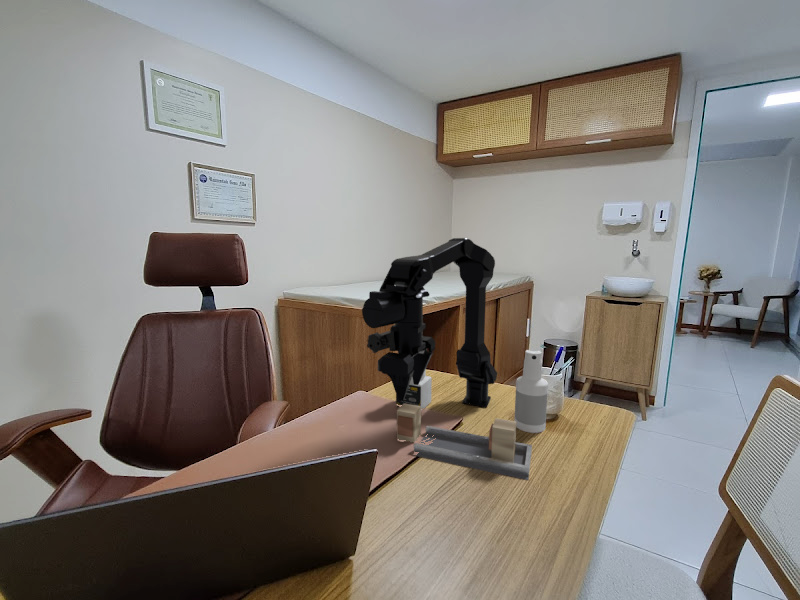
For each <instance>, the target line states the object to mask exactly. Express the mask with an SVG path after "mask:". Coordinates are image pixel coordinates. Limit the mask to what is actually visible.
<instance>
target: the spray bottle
mask: <svg viewBox="0 0 800 600" xmlns="http://www.w3.org/2000/svg"><path fill="white" fill-rule="evenodd" d="M542 353H543V352H542V351H541V350H530V349H526V350H525V356H524V359H523V369H522V375H521V376H519V377H517V378H516V381H515V400H514V401H515V403H514V420H513V421H516V429H518V430H520V431H523V432H526V433H531V434H533V433H534V434H538V433H541V432H544V431H545V430H546V424H547V421H546V420H547V407H548V391H549V382H548V381H547V380H546V379H545V378H543V369H542V368H543V360H542V355H543V354H542Z"/></svg>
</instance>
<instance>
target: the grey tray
mask: <svg viewBox="0 0 800 600" xmlns="http://www.w3.org/2000/svg"><path fill="white" fill-rule="evenodd" d="M425 434H430V435H435V436H440V437H445V438H451V439H456V440H461V441H466V442H471V443H477V444H482V445H487V446H489V436H485V435H479V434H474V433H468V432H464V431H457V430H453V429H446V428H441V427H438V426H437V427H436V426H431V425H426V426H425ZM419 443H420V442H419ZM419 443H418V442H415V443H413V452H414V451H415V452H419V453H422V454H427V455H432V456H436V457H441V458H446V459H450V460H455V461H460V462H464V463H469V464H474V465H478V466H483V467H488V468H493V469H497V470H502V471H507V472H511V473H516V474H521V475H525V476H529V477H530V468H531V459H532V450H533V449H532V447H533V445H532V444H528V443H524V442H523V443H522V442H518V441H515V451H518V452H523V453H526V460H525V465H521V464H517V463H512V462H507V461H502V460H497V459H492V458H487V457H482V456H477V455H472V454H468V453H463V452H458V451H453V450H448V449H443V448H438V447H433V446H428V445H423V444H419Z"/></svg>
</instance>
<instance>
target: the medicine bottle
mask: <svg viewBox="0 0 800 600" xmlns="http://www.w3.org/2000/svg"><path fill="white" fill-rule="evenodd" d="M426 369H427V368H426ZM426 369H425V371H424V373H423V376H422V378H421V380H420V382H419V384H418V385H414V383H413V377H412V378H411V381H410V384H409V387H408V390H407V393H406V396H405V398H404V400H403V401H399V400H398V398H397V395H396V394H395V405H396V404H398V405H403V404H404V403H405V404H411V405H417V406H421V409H423V408H424V409H426V407H428V405H429V404H430V403H431V402H432V379H433V378H432V377H431V376H429V375H427V374H426V373H427V372H426ZM424 409H423V410H424Z"/></svg>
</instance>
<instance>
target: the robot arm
mask: <svg viewBox="0 0 800 600" xmlns="http://www.w3.org/2000/svg"><path fill="white" fill-rule="evenodd" d="M452 263H454V264H455V265H456V266H457V267H458V269H459V276H460V279H461V281H462V283H463V285H464V286H465V309H464V310H465V312H464V313H465V315H464V317H465V319H464V342H463V344H462V346H461V347H460V348H459V349H457V350H456V361H455V365H456V368H457V372H458V376H459V378H461V379H466V383H465V384H466V386H465V387H466V389H465V390H466V391H465V392H466V393H465V396H464V398H463V400H462V404H464V405H469V406H476V407H483V408H488V406H489V405H490V403H491V402H490V401H491V399H492V396H490V395H489V385H493V384H495V382H496V381H497V377H498V371H497V370H496V369H495V367H494V365H493V364H492V363H491V352H490V350H489V349H488V347H487V345H486V343H485V328H486V327H485V326H486V323H485V322H486V302H487V301H486V299H487V298H486V295H487V287H488V285H489V283H490V282H491V281H492V279H493V277H494V269H495V266H496V261H495V257H494V256H493V255H492V254H491V253H490V251H488V250H487V249H486V248H483V246H482V247H481V246H479V245H478V244H476V243H474V241H472V240H471V239H470V238H468V237H455V238H451V239H449V240H448V241H446V242H445V243H443V244H441V245H439V246H437V247H435V248H432V249H431V250H428V251H426V252H424V253H422V254H418V255H413V256H405V257H404V256H403V257H401V258H395V259H394V260H393V261H392V262H391V263H390V265H391V266H390V268H389V269H388V272H387V274H386V276H385V278H384V280H383V281H382V284H381V286H380V287H379V291H377V290H376V291H375V290H373V291H369V295H368V297H369V298H367V299H366V300H365V301H364V304H363V306H362V307H361V315H362V319H363V321H364V323H365V324H366V325H367V326H368V327H369V328H371V329H378V328H382V327H387V326H391V327H390V329H389V331H388V330H387V331H385V332H382V333H379V331H378V332H375V333H371V334H368V336H367V339H366V342H367V344H366V348H368V349H369V350H370V351H372V353H373V354H377V353H378V352H379V351H383V350H387V349H389V352H386V353H385V354H384V355H381V357H380V358H379V359H378V360H377V371H378V372H381V373H382V374H383V375H386V376H387V377H389V378H390V380H391V383H392V386H393V389H394V391H395V396H396V395H397V398H398V400H399V401H403V400H404V398H405V396H406V393H407V390H408V387H409V384H410V381H411V378H412V377H413V383H414V385H418V384H419V382H420V380H421V378H422V376H423V373H424V371H425V369H427V366H428V364H429V362H430V360H431V357H432V356H433V355H434V351H435V350H436V340H434V338H433V337H431V336H424V335H423V334H424V333H423V331H424V330H425V329H426V323H424V320H423V318H424V315H423V310H424V306H423V305H424V298H428V297H429V296H430V292H429V291H428V290H426V289H425V288H424V287H425V286H426V285H427V284H428V283H429V282H430V281H432V280H433V278H434V277H433V276H434V274H435V273H436V272H437V271H439V270H441V269H443V268H445V267H446V266H448V265H450V264H452Z"/></svg>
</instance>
